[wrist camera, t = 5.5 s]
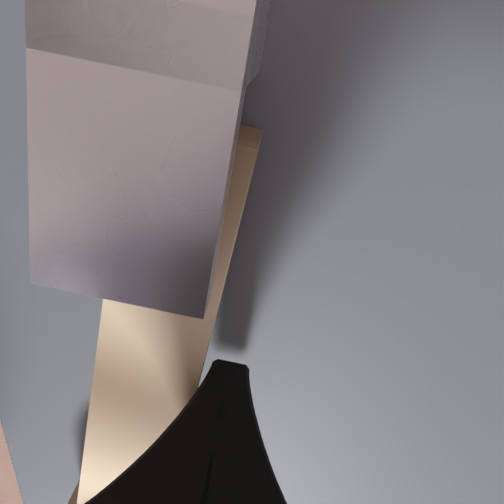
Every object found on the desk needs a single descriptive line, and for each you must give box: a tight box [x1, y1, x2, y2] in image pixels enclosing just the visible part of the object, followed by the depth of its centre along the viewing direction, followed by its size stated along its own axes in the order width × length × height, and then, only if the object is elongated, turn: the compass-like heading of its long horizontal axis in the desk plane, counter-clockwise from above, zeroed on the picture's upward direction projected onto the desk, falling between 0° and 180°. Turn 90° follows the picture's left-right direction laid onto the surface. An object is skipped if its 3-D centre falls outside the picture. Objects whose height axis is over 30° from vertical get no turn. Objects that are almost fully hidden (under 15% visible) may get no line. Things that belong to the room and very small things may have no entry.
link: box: [68, 124, 263, 504], centre depth 12 cm, size 14×4×3 cm, turn 166°
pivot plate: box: [0, 0, 504, 504], centre depth 13 cm, size 17×20×1 cm
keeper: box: [25, 0, 272, 319], centre depth 9 cm, size 4×6×3 cm
